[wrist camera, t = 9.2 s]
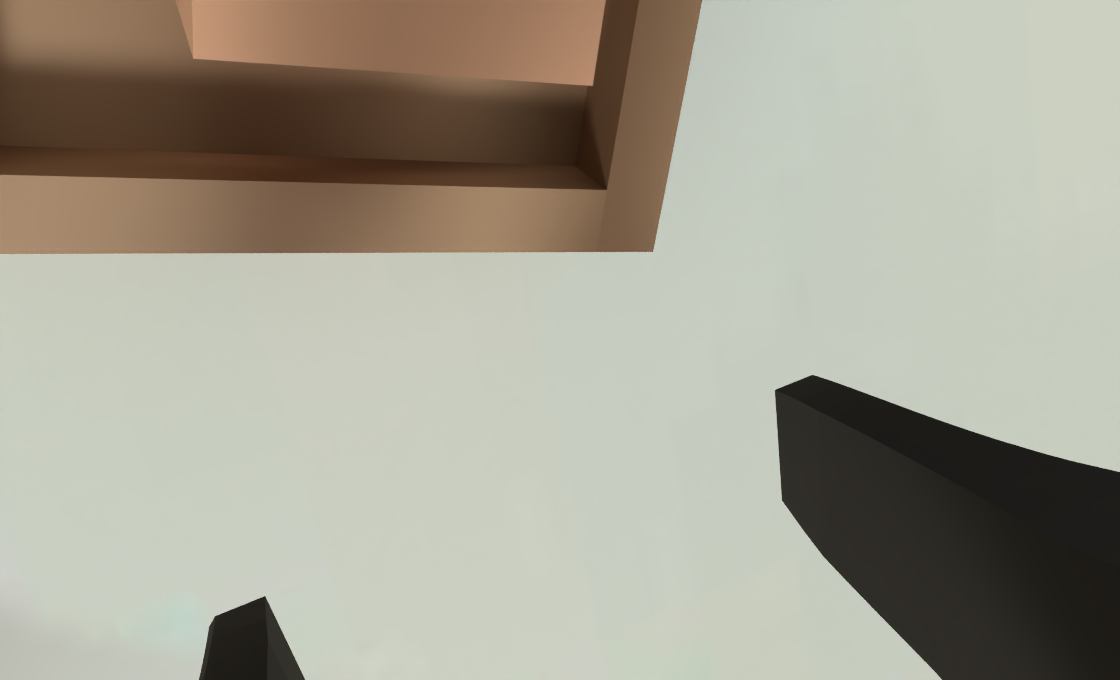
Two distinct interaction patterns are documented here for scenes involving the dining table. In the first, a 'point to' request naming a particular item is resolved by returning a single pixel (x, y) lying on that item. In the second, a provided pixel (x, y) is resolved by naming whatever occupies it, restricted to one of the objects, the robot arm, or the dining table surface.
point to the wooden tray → (324, 143)
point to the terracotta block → (405, 36)
